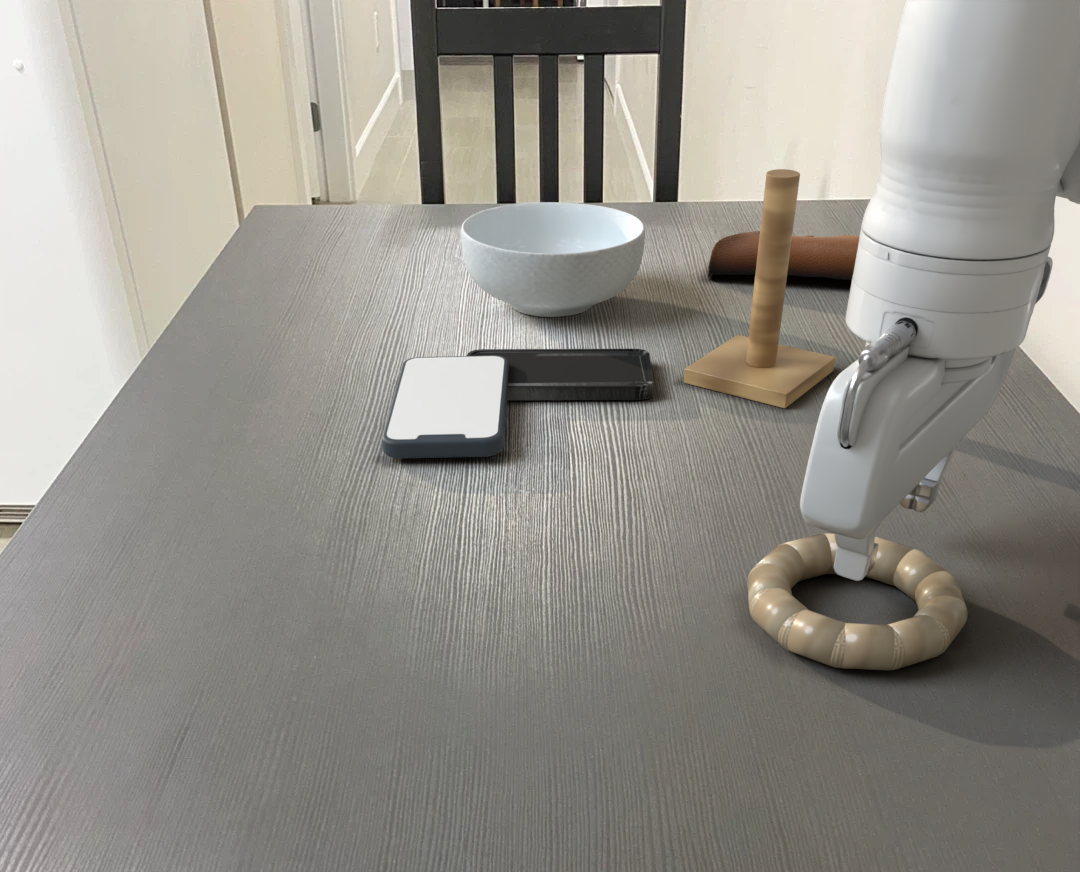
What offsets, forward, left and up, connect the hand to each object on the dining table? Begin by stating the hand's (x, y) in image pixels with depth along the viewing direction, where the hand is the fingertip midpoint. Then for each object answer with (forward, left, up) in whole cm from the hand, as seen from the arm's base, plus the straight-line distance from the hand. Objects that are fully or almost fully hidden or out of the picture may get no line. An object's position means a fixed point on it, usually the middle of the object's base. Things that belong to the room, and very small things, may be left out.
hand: (885, 537), depth 63 cm
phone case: (+36, -4, -3) cm, 36 cm away
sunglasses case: (+28, -49, -3) cm, 56 cm away
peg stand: (+20, -23, -3) cm, 31 cm away
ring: (0, +5, -2) cm, 5 cm away
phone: (+33, -14, -3) cm, 35 cm away
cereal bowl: (+44, -28, -3) cm, 52 cm away
